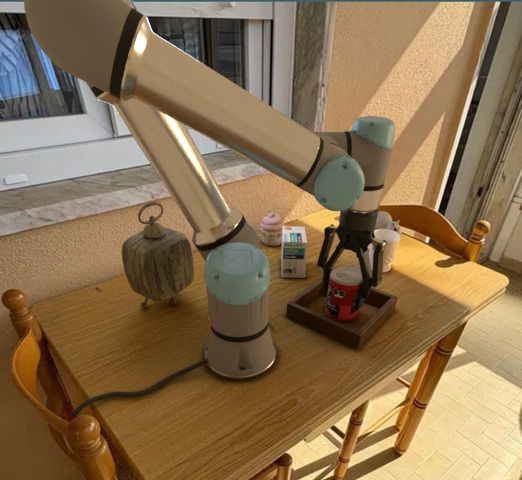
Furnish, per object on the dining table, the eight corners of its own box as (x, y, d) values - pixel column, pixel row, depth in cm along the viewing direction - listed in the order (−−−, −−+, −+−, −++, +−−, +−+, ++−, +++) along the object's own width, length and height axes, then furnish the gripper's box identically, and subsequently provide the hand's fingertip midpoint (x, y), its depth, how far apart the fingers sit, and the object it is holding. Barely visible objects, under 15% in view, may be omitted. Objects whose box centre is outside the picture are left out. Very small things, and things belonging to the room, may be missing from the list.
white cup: (398, 269, 111) (407, 236, 104) (379, 276, 108) (387, 243, 101) (377, 258, 116) (385, 226, 109) (359, 265, 112) (365, 233, 106)
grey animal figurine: (390, 249, 120) (396, 223, 115) (361, 235, 128) (366, 210, 122) (404, 243, 124) (411, 217, 118) (376, 230, 131) (381, 205, 125)
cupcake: (253, 245, 121) (253, 215, 115) (264, 234, 128) (264, 204, 121) (281, 251, 119) (282, 219, 112) (290, 238, 125) (292, 208, 119)
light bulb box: (305, 278, 106) (308, 242, 99) (281, 278, 106) (282, 242, 99) (302, 260, 114) (305, 225, 107) (280, 259, 115) (281, 225, 107)
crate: (357, 349, 84) (360, 335, 81) (286, 316, 93) (286, 303, 90) (394, 310, 95) (397, 296, 93) (327, 284, 104) (329, 271, 102)
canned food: (321, 305, 97) (326, 266, 89) (351, 303, 97) (359, 265, 90) (328, 323, 91) (335, 284, 84) (361, 321, 92) (370, 282, 84)
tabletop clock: (175, 283, 104) (160, 189, 87) (200, 294, 100) (189, 198, 83) (134, 308, 95) (108, 209, 78) (159, 321, 91) (138, 219, 74)
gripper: (417, 214, 74) (390, 309, 89) (325, 190, 84) (314, 280, 99) (401, 226, 70) (375, 325, 85) (306, 199, 79) (298, 292, 94)
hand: (343, 300), depth 92 cm, fingers closed on canned food, 8 cm apart
